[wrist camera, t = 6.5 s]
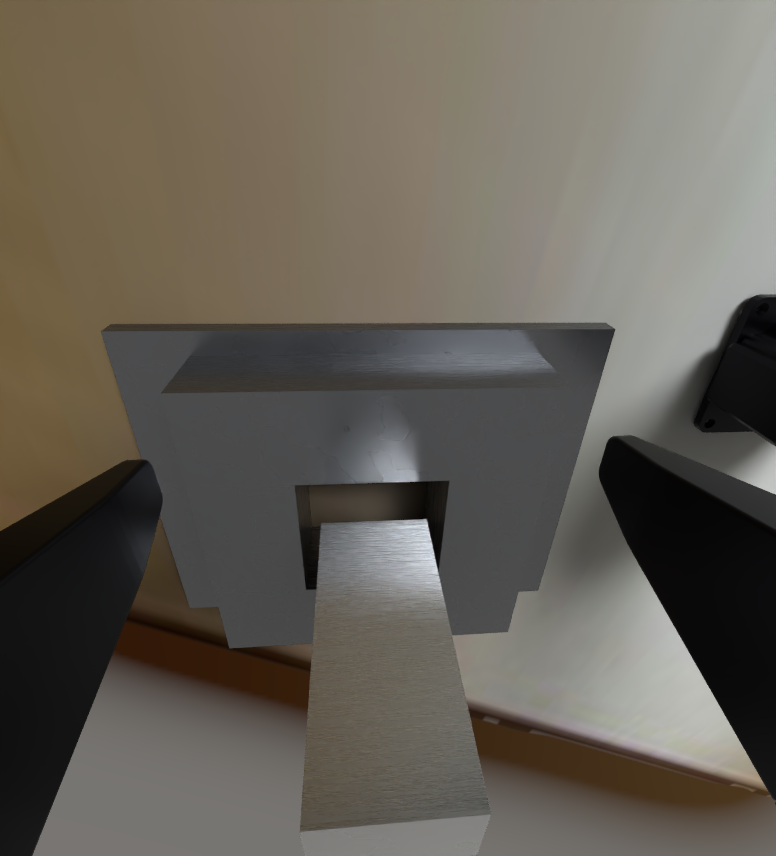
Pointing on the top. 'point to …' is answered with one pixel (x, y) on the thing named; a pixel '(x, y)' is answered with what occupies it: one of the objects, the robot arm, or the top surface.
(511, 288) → the top surface
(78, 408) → the top surface
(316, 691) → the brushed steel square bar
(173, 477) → the stand base
